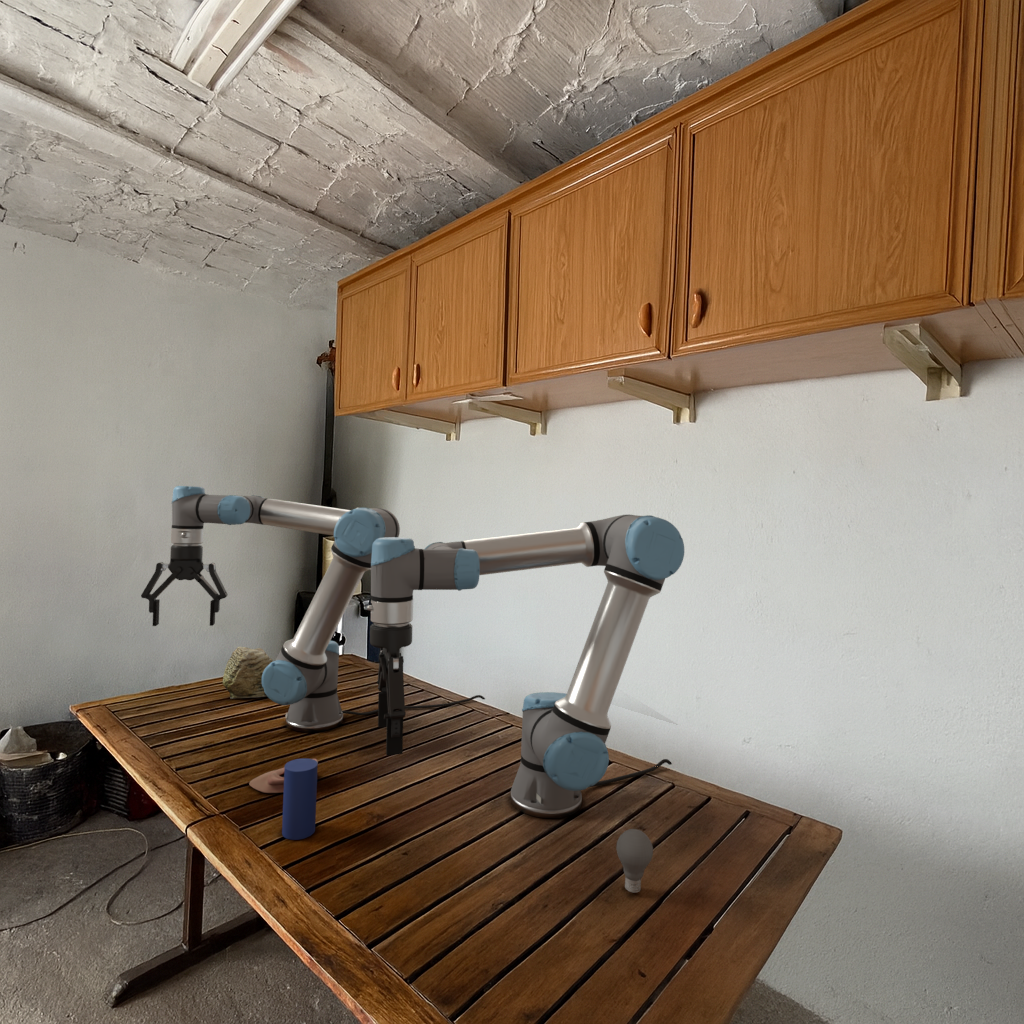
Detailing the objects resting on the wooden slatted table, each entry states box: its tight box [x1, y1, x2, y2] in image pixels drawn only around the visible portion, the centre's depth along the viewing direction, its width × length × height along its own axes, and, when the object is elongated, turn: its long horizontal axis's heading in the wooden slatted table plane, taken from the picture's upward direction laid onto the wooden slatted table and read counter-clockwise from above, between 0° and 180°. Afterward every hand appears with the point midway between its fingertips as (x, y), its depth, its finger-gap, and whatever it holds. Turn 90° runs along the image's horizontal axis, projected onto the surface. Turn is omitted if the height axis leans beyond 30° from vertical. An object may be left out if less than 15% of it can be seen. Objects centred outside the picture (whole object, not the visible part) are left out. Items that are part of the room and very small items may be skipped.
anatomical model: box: [248, 758, 319, 794], centre depth 139 cm, size 13×4×12 cm
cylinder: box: [281, 757, 319, 841], centre depth 120 cm, size 6×6×13 cm
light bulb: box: [615, 828, 654, 894], centre depth 106 cm, size 6×6×10 cm
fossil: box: [222, 646, 274, 699], centre depth 198 cm, size 9×18×15 cm, turn 132°
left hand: (184, 625), depth 167 cm, fingers open, 13 cm apart
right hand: (389, 739), depth 115 cm, fingers open, 13 cm apart
